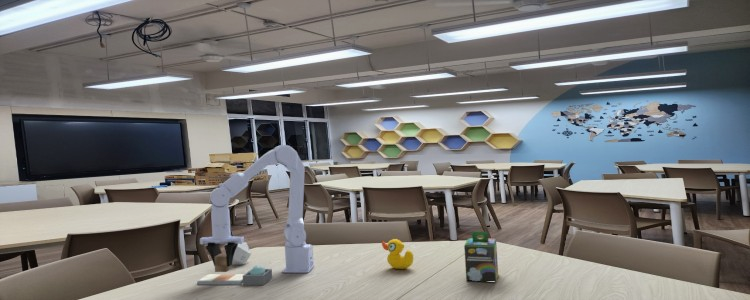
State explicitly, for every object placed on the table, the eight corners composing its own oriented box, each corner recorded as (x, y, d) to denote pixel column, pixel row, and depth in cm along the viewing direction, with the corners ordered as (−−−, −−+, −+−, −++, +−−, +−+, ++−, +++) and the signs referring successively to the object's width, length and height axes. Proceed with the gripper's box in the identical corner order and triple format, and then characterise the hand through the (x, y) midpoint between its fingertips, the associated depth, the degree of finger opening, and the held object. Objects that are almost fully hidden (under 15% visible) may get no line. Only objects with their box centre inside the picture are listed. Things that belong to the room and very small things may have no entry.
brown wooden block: (232, 268, 147) (231, 253, 146) (226, 271, 143) (225, 256, 142) (221, 268, 147) (220, 253, 147) (215, 271, 143) (214, 256, 143)
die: (237, 269, 159) (252, 246, 162) (218, 258, 160) (233, 235, 163) (244, 271, 167) (258, 249, 170) (225, 260, 168) (239, 238, 171)
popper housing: (272, 277, 146) (271, 268, 146) (264, 284, 139) (263, 275, 139) (252, 277, 147) (251, 269, 146) (243, 284, 140) (242, 275, 140)
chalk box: (498, 274, 139) (496, 227, 139) (496, 283, 130) (494, 234, 130) (468, 272, 142) (467, 227, 142) (465, 281, 134) (463, 233, 133)
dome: (267, 276, 145) (267, 263, 145) (262, 281, 140) (261, 268, 140) (253, 276, 145) (253, 263, 145) (247, 281, 141) (247, 268, 140)
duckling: (379, 269, 150) (378, 240, 150) (386, 264, 155) (385, 236, 155) (410, 272, 145) (408, 242, 145) (416, 267, 150) (415, 238, 150)
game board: (250, 277, 147) (249, 273, 147) (240, 284, 140) (240, 280, 140) (208, 277, 149) (208, 274, 149) (197, 284, 142) (197, 280, 142)
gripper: (193, 227, 141) (196, 268, 142) (236, 226, 139) (238, 268, 140) (205, 223, 148) (207, 262, 149) (245, 222, 146) (247, 262, 147)
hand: (223, 265), depth 145 cm, fingers closed on brown wooden block, 4 cm apart
